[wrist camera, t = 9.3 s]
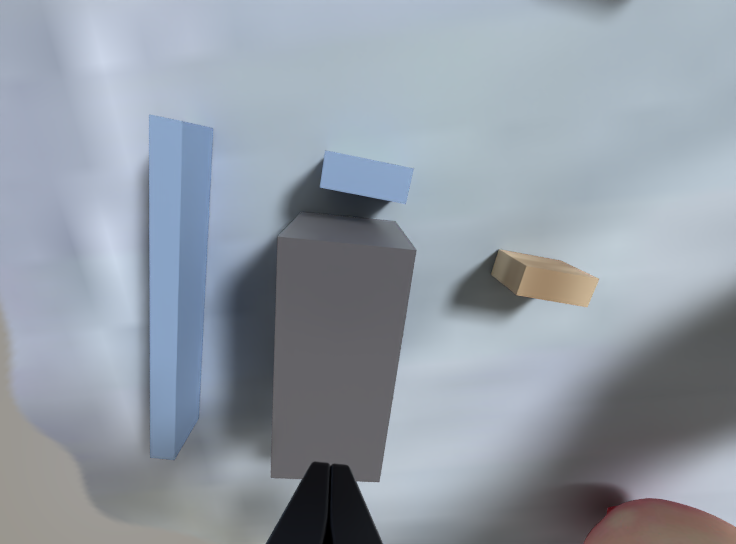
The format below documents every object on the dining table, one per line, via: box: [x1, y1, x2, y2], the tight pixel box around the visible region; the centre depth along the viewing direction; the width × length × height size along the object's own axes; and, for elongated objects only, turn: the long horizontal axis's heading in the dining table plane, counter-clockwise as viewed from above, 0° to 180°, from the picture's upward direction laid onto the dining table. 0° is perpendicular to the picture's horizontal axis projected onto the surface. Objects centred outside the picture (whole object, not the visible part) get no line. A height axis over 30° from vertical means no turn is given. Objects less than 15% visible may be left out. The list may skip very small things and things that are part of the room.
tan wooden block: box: [491, 249, 599, 307], centre depth 12 cm, size 3×14×2 cm, turn 169°
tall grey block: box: [271, 212, 416, 482], centre depth 13 cm, size 4×9×5 cm, turn 174°
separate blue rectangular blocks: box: [149, 115, 414, 460], centre depth 14 cm, size 8×14×2 cm, turn 169°
